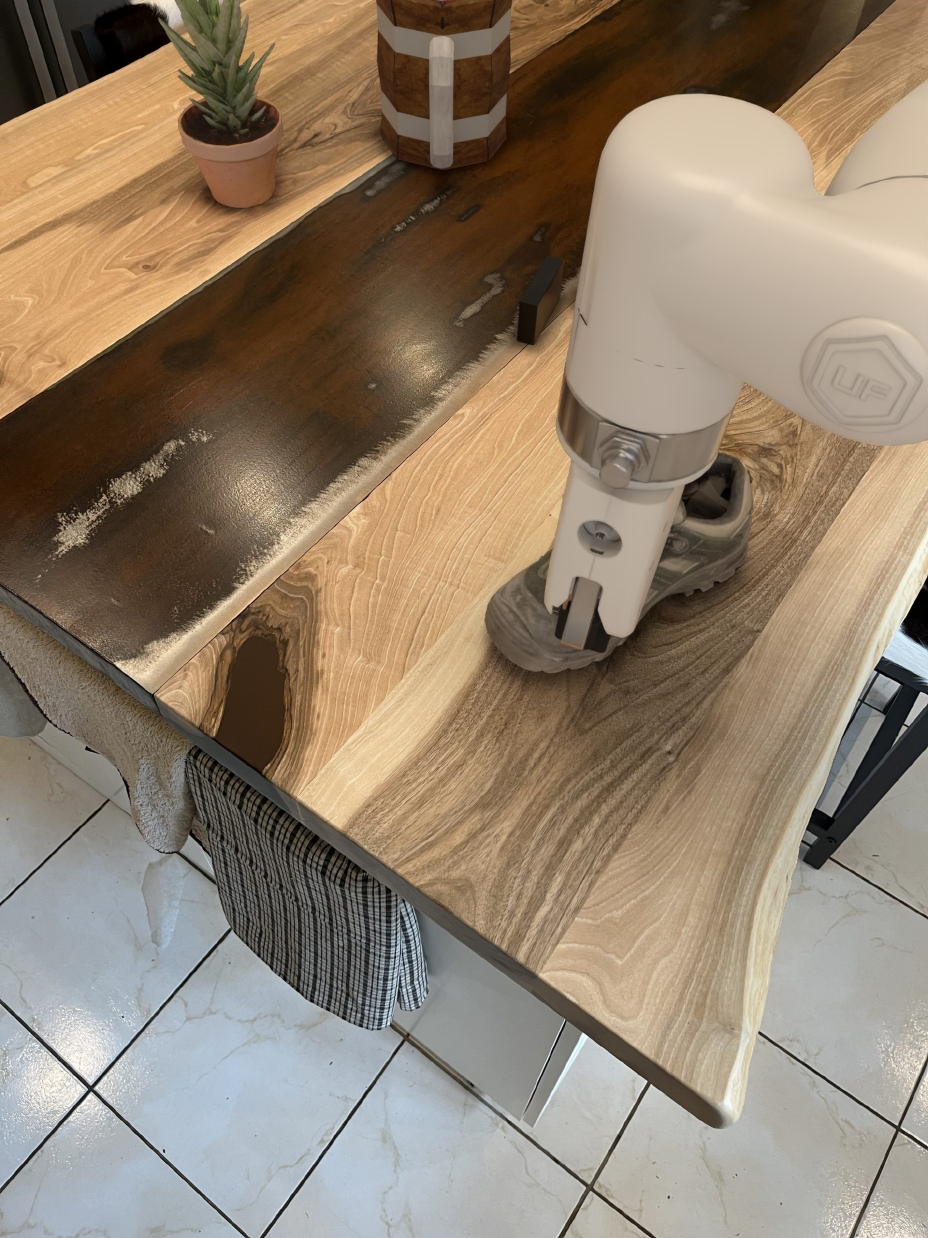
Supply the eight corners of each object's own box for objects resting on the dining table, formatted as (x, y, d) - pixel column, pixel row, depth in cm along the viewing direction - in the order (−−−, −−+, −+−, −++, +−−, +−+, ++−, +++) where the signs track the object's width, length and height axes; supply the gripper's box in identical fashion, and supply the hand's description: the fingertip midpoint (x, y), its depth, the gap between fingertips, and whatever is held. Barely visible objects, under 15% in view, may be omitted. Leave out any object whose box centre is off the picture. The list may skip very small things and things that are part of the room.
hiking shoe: (439, 583, 62) (516, 530, 52) (666, 479, 71) (772, 415, 61) (501, 708, 62) (591, 681, 51) (721, 588, 71) (837, 543, 60)
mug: (384, 103, 104) (376, -55, 92) (505, 106, 104) (514, -51, 92) (372, 201, 93) (362, 36, 80) (509, 204, 93) (519, 40, 81)
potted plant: (213, 228, 90) (147, -78, 69) (181, 180, 94) (110, -120, 74) (310, 202, 92) (274, -100, 72) (274, 157, 97) (230, -138, 77)
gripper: (688, 553, 37) (608, 761, 52) (758, 329, 45) (672, 565, 60) (508, 497, 38) (481, 716, 53) (608, 289, 46) (560, 530, 62)
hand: (582, 635), depth 57 cm, fingers closed
